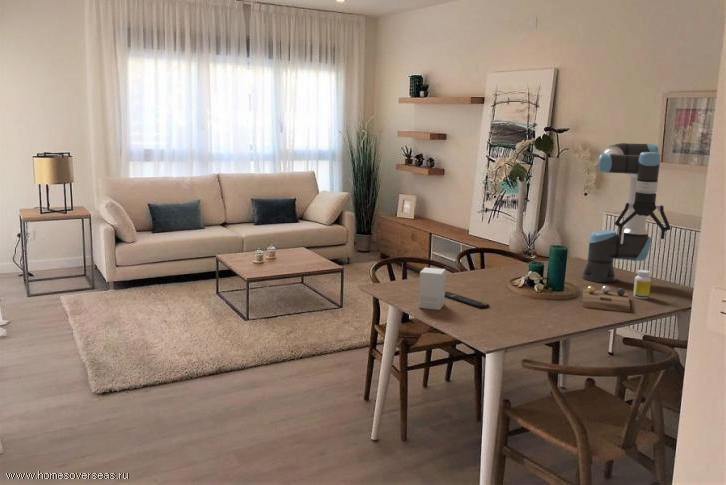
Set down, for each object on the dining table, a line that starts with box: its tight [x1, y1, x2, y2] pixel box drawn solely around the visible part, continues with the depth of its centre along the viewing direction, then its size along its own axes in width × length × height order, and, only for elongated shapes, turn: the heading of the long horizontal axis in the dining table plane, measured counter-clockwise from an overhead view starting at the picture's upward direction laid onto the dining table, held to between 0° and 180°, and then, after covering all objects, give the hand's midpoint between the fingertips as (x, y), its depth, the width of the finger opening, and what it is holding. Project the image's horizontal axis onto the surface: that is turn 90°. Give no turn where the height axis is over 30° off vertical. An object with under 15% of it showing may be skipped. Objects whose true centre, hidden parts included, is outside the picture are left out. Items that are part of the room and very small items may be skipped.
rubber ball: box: [616, 287, 626, 295], centre depth 271 cm, size 3×3×3 cm
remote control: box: [445, 291, 490, 310], centre depth 267 cm, size 5×24×1 cm, turn 39°
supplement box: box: [418, 266, 447, 311], centre depth 258 cm, size 9×9×15 cm
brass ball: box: [586, 285, 596, 294], centre depth 273 cm, size 3×3×3 cm
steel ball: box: [601, 285, 611, 293], centre depth 274 cm, size 3×3×3 cm
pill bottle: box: [632, 269, 652, 300], centre depth 277 cm, size 6×6×12 cm
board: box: [581, 287, 631, 313], centre depth 269 cm, size 20×18×2 cm
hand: (640, 245), depth 254 cm, fingers open, 13 cm apart
